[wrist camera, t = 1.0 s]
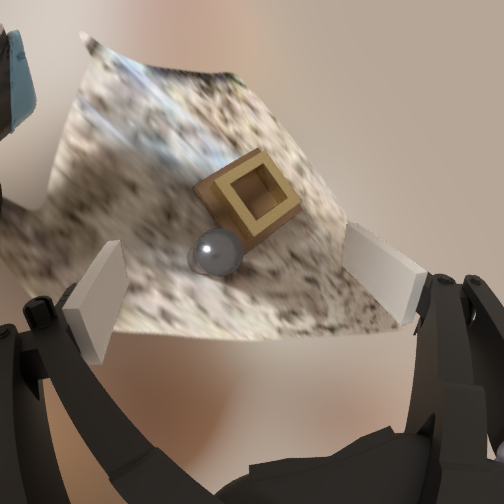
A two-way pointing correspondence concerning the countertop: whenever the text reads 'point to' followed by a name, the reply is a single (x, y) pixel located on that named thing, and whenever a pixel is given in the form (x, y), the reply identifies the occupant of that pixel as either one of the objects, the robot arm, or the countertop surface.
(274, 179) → the square socket frame
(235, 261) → the pin
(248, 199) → the socket base
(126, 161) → the countertop surface
